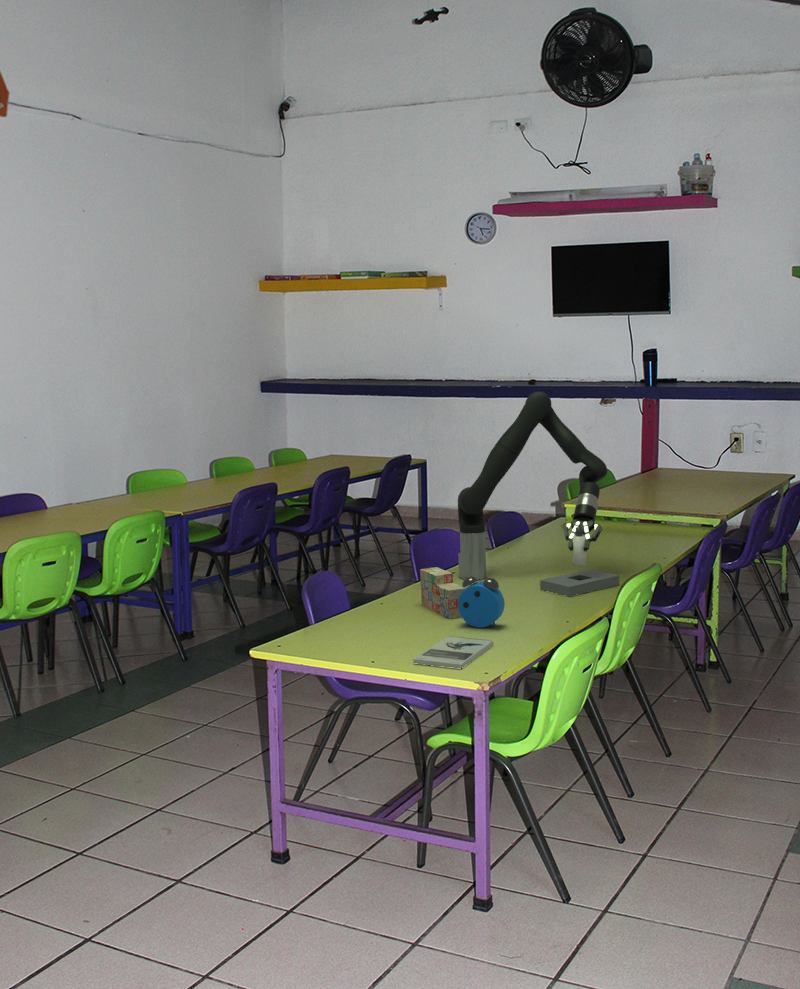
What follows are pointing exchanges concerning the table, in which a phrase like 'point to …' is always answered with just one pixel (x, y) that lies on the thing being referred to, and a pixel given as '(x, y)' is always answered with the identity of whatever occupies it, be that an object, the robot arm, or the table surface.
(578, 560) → the plug
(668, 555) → the table surface
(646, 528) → the table surface
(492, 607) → the alarm clock
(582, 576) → the socket plate
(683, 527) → the table surface
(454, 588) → the stack of blocks
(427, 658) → the book
